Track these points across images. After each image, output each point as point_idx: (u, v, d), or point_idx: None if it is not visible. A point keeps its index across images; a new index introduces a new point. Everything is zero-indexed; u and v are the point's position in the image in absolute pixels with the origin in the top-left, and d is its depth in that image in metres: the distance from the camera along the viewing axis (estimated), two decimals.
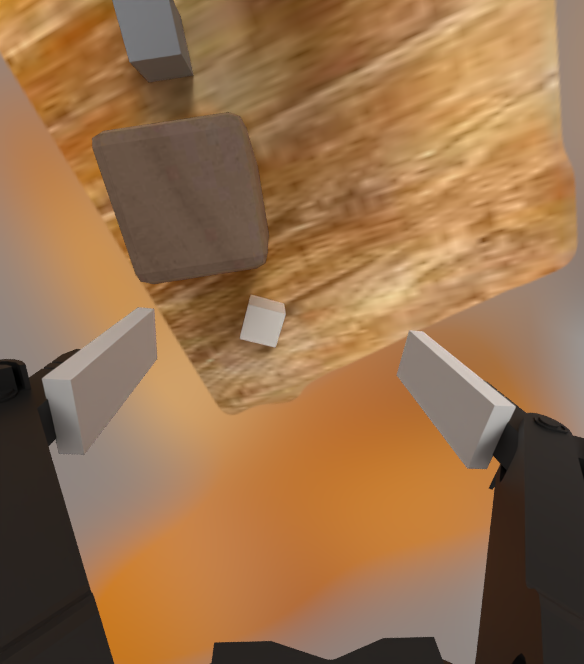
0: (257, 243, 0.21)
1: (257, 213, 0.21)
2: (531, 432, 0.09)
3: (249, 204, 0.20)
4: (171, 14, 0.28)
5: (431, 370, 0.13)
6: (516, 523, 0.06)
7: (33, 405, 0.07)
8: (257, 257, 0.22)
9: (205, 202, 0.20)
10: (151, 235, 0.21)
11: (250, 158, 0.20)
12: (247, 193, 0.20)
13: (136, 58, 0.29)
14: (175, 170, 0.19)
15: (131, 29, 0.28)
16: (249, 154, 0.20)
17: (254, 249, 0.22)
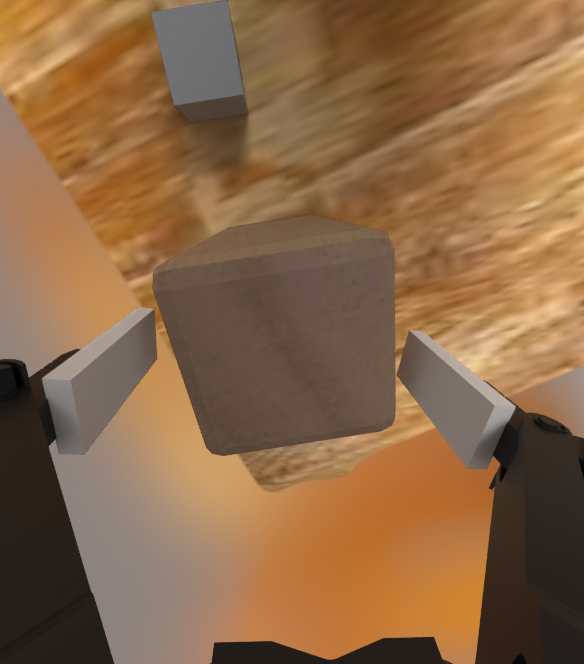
0: (390, 405, 0.14)
1: (394, 367, 0.14)
2: (531, 432, 0.09)
3: (388, 358, 0.13)
4: (233, 41, 0.20)
5: (430, 370, 0.13)
6: (516, 523, 0.06)
7: (33, 405, 0.07)
8: (386, 422, 0.15)
9: (323, 359, 0.13)
10: (236, 404, 0.14)
11: (394, 292, 0.13)
12: (387, 345, 0.13)
13: (183, 100, 0.21)
14: (284, 319, 0.12)
15: (178, 62, 0.20)
16: (394, 287, 0.13)
17: (385, 414, 0.14)
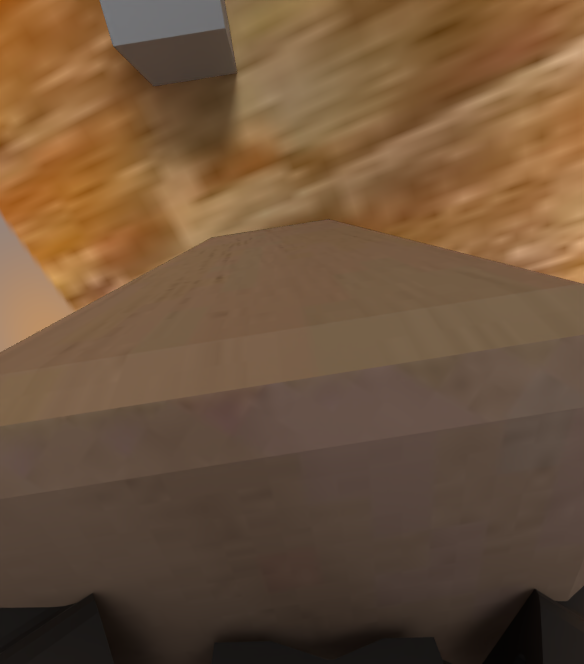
0: None
1: None
2: None
3: None
4: None
5: None
6: None
7: None
8: None
9: (412, 627, 0.05)
10: None
11: None
12: (581, 583, 0.05)
13: (128, 38, 0.13)
14: (308, 562, 0.04)
15: None
16: None
17: None
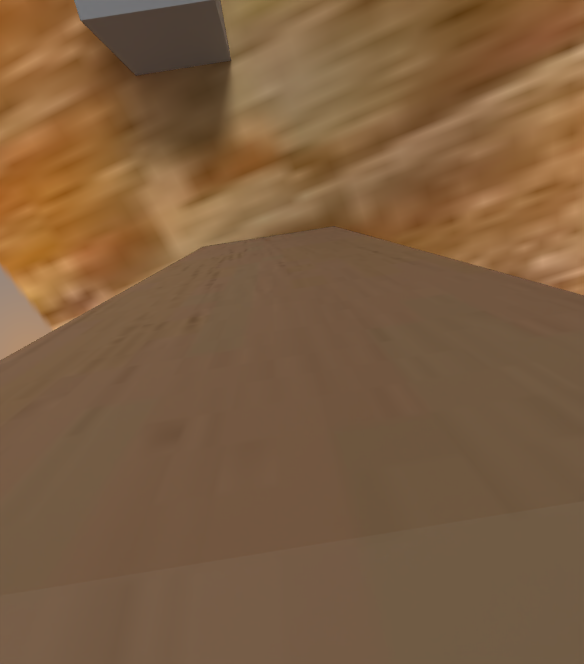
0: None
1: None
2: None
3: None
4: None
5: None
6: None
7: None
8: None
9: None
10: None
11: None
12: None
13: (98, 10, 0.11)
14: None
15: None
16: None
17: None
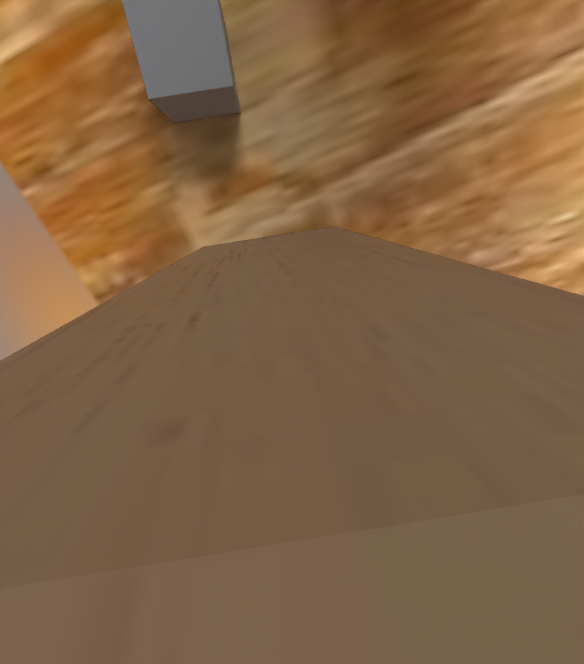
0: None
1: None
2: None
3: None
4: (220, 21, 0.16)
5: None
6: None
7: None
8: None
9: None
10: None
11: None
12: None
13: (159, 93, 0.17)
14: None
15: (152, 46, 0.17)
16: None
17: None
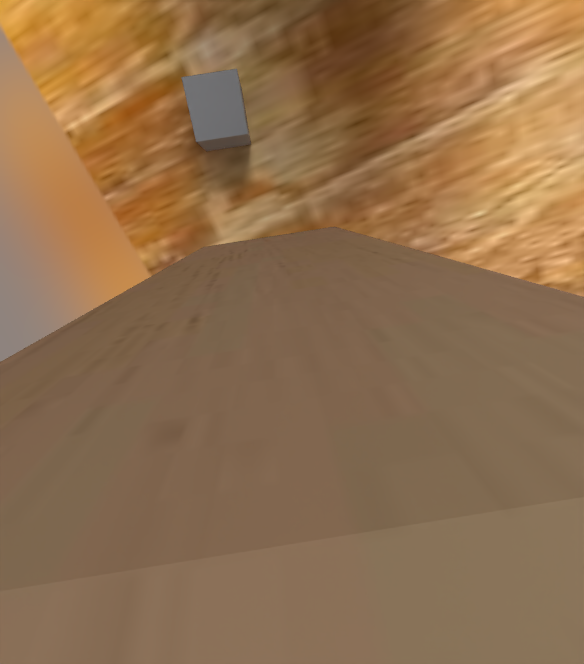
0: None
1: None
2: None
3: None
4: (240, 97, 0.28)
5: None
6: None
7: None
8: None
9: None
10: None
11: None
12: None
13: (203, 138, 0.29)
14: None
15: (200, 111, 0.28)
16: None
17: None
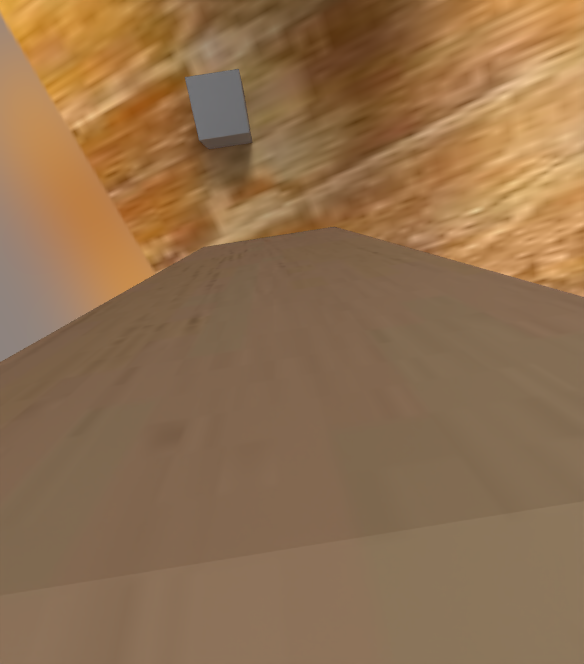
0: None
1: None
2: None
3: None
4: (242, 96, 0.28)
5: None
6: None
7: None
8: None
9: None
10: None
11: None
12: None
13: (206, 136, 0.29)
14: None
15: (203, 110, 0.29)
16: None
17: None
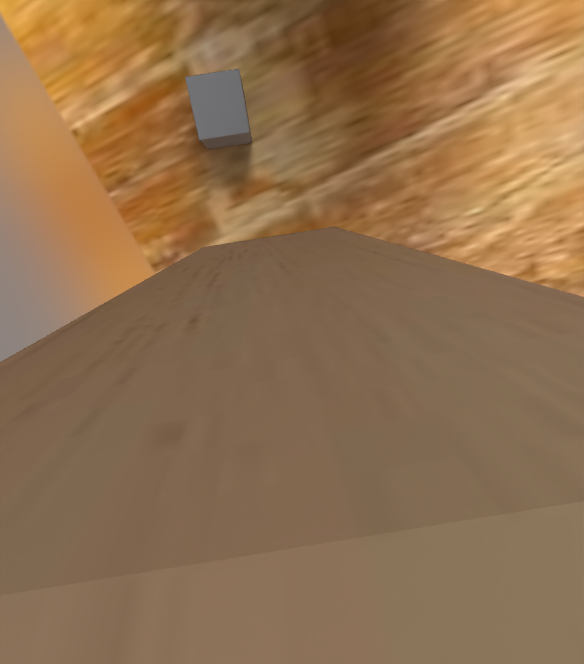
0: None
1: None
2: None
3: None
4: (242, 96, 0.28)
5: None
6: None
7: None
8: None
9: None
10: None
11: None
12: None
13: (206, 136, 0.29)
14: None
15: (203, 110, 0.29)
16: None
17: None
